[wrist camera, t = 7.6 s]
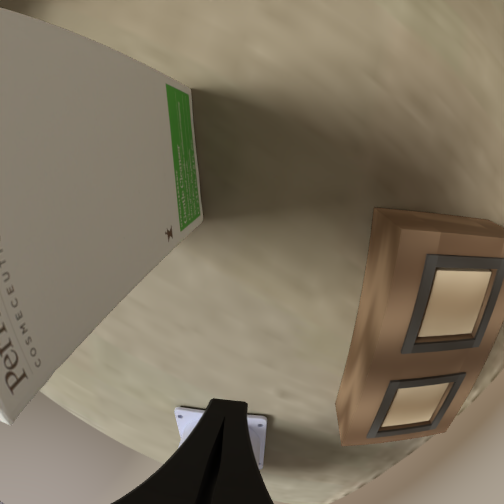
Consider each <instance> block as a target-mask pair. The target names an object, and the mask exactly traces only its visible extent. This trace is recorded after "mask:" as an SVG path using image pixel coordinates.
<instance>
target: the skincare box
mask: <svg viewBox="0 0 504 504" xmlns="http://www.w3.org/2000/svg"><path fill="white" fill-rule="evenodd" d="M202 222H203V210H202V203H201V196H200V181H199V172H198V163H197V154H196V144H195V134H194V124H193V109H192V95H191V89H190V88H189V87H187V86H185V85H183V84H182V83H180V82H178V81H176V80H174V79H172V78H171V77H169V76H167V75H165V74H163V73H161V72H159V71H157V70H155V69H153V68H151V67H149V66H147V65H145V64H143V63H141V62H139V61H137V60H135V59H133V58H131V57H129V56H127V55H125V54H123V53H121V52H119V51H116V50H114V49H112V48H110V47H108V46H105V45H103V44H101V43H98V42H96V41H94V40H91V39H89V38H86V37H84V36H82V35H79V34H77V33H74V32H72V31H69V30H67V29H64V28H61V27H59V26H56V25H53V24H50V23H47V22H45V21H43V20H39V19H36V18H33V17H30V16H27V15H24V14H21V13H18V12H14V11H11V10H8V9H4V8H1V7H0V421H2V422H4V423H6V424H8V425H12V424H13V423H14V421H15V419H16V418H17V417H18V416H19V414H20V413H21V412H22V411H23V409H24V408H25V407H26V406H27V404H28V403H29V402H30V401H31V400H32V399H33V397H34V396H35V395H36V394H37V392H38V391H39V390H40V389H41V388H42V387H43V386H44V385H45V383H46V382H47V381H48V380H49V378H50V377H51V376H52V374H53V373H54V372H55V370H56V369H57V368H59V367H60V366H61V365H62V364H63V363H64V362H65V360H66V359H67V358H68V357H69V356H70V355H71V354H72V353H73V352H74V350H75V349H76V348H77V347H78V346H79V345H80V344H81V343H82V342H83V341H84V340H85V339H86V338H87V336H88V335H89V334H90V333H91V332H92V331H93V330H94V329H95V328H96V327H97V326H98V325H99V324H100V323H101V322H102V320H103V319H104V318H105V317H106V316H107V315H108V314H109V313H110V312H111V311H112V310H113V309H114V308H115V307H116V306H117V305H118V304H119V303H120V302H121V301H122V300H123V299H124V298H125V297H126V296H127V295H128V294H129V293H130V292H131V290H132V289H133V288H134V287H135V286H136V285H137V284H138V283H139V282H140V281H141V280H142V279H143V278H144V277H145V276H146V275H147V274H148V273H149V272H150V271H151V270H152V269H153V268H155V267H156V266H157V265H158V264H159V263H160V262H161V261H162V260H163V259H164V258H165V257H166V256H167V255H168V254H169V253H170V252H171V251H172V250H173V249H174V248H175V247H176V246H177V245H178V244H179V243H181V241H182V240H184V239H185V238H186V237H187V236H188V235H189V234H190V233H191V232H192V231H193V230H194V229H195V228H196V227H197V226H199V225H200V224H201V223H202Z"/></svg>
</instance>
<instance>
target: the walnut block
mask: <svg viewBox="0 0 504 504" xmlns="http://www.w3.org/2000/svg"><path fill="white" fill-rule="evenodd" d="M436 267H443V268H474V269H489V270H490V271H491V276H490V279H489V283H488V286H487V290H486V293H485V296H484V299H483V302H482V305H481V308H480V311H479V314H478V317H477V319H476V322H475V325H474V327H473V330H472V333H467V334H455V335H442V336H426V337H418V336H417V334H418V331H419V328H420V324H421V321H422V318H423V315H424V311H425V308H426V304H427V301H428V297H429V293H430V290H431V286H432V282H433V278H434V273H435V269H436ZM503 320H504V228H503V227H501V226H499V225H497V224H495V223H493V222H491V221H490V220H486V219H478V218H471V217H463V216H455V215H446V214H437V213H428V212H418V211H408V210H398V209H387V208H375V207H374V211H373V220H372V228H371V236H370V243H369V250H368V257H367V263H366V269H365V275H364V281H363V287H362V292H361V298H360V303H359V308H358V313H357V318H356V323H355V328H354V332H353V337H352V341H351V345H350V350H349V354H348V358H347V362H346V366H345V370H344V374H343V378H342V381H341V385H340V389H339V392H338V396H337V399H336V403H335V405H336V412H337V418H338V425H339V432H340V439H341V446H352V445H365V444H375V443H384V442H392V441H399V440H406V439H412V438H418V437H424V436H429V435H434V434H439V433H444V432H446V430H447V428H448V427H449V426H450V424H451V422H452V421H453V420H454V418H455V416H456V415H457V413H458V411H459V410H460V408H461V406H462V405H463V403H464V401H465V400H466V398H467V396H468V394H469V393H470V391H471V389H472V387H473V385H474V383H475V382H476V380H477V378H478V376H479V374H480V372H481V370H482V368H483V366H484V364H485V362H486V360H487V358H488V355H489V353H490V351H491V349H492V347H493V344H494V342H495V340H496V337H497V335H498V333H499V330H500V328H501V325H502V323H503ZM444 383H449V384H448V386H447V388H446V390H445V392H444V394H443V396H442V398H441V400H440V402H439V404H438V405H437V407H436V409H435V411H434V413H433V414H432V416H431V418H430V419H429V421H423V422H416V423H410V424H402V425H394V426H385V427H381V424H382V422H383V419H384V417H385V415H386V413H387V411H388V409H389V406H390V404H391V402H392V400H393V397H394V395H395V393H396V390H397V389H402V388H412V387H421V386H429V385H437V384H444Z"/></svg>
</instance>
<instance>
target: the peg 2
mask: <svg viewBox="0 0 504 504" xmlns="http://www.w3.org/2000/svg"><path fill="white" fill-rule="evenodd" d="M490 276H491V271H490V270H489V269H474V268H443V267H436V269H435V273H434V278H433V282H432V286H431V290H430V293H429V297H428V301H427V304H426V308H425V311H424V315H423V318H422V321H421V324H420V328H419V331H418V334H417V336H418V337H426V336H442V335H455V334H467V333H472V330H473V327H474V325H475V322H476V319H477V317H478V314H479V311H480V308H481V305H482V302H483V299H484V296H485V293H486V290H487V286H488V283H489V279H490Z"/></svg>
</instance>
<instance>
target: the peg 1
mask: <svg viewBox="0 0 504 504" xmlns="http://www.w3.org/2000/svg"><path fill="white" fill-rule="evenodd" d="M448 384H449V383H444V384H437V385H429V386H421V387H412V388H402V389H397V390H396V393H395V395H394V397H393V400H392V402H391V404H390V406H389V409H388V411H387V413H386V415H385V417H384V419H383V422H382V424H381V427H385V426H394V425H402V424H410V423H416V422H423V421H429V419H430V418H431V416H432V414H433V413H434V411H435V409H436V407H437V405H438V404H439V402H440V400H441V398H442V396H443V394H444V392H445V390H446V388H447V386H448Z"/></svg>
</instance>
